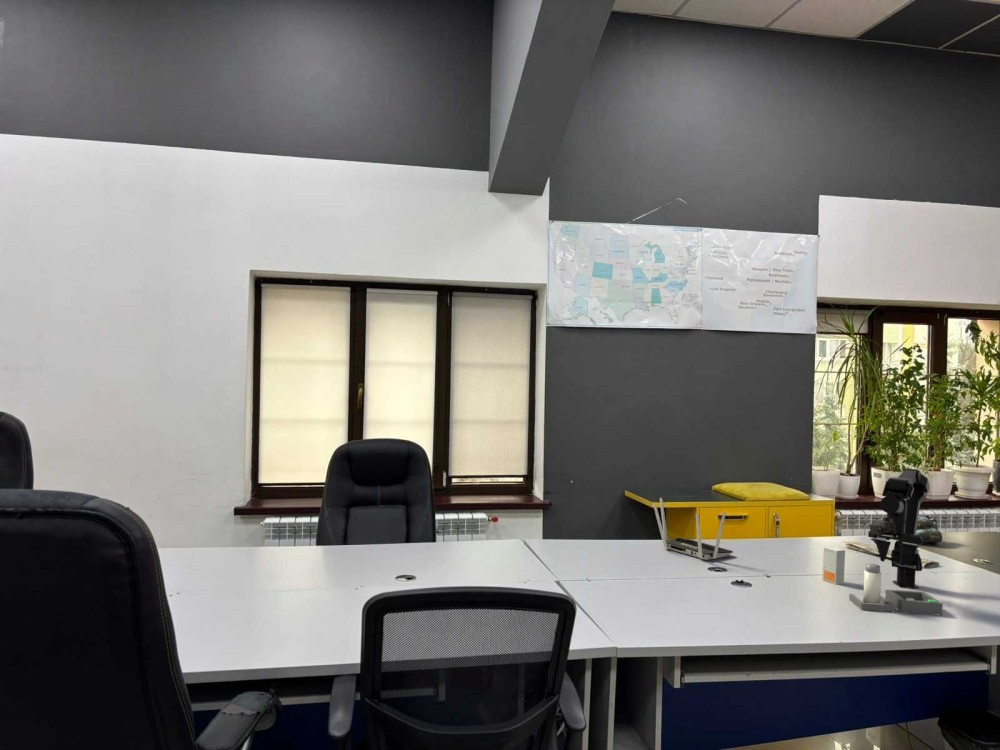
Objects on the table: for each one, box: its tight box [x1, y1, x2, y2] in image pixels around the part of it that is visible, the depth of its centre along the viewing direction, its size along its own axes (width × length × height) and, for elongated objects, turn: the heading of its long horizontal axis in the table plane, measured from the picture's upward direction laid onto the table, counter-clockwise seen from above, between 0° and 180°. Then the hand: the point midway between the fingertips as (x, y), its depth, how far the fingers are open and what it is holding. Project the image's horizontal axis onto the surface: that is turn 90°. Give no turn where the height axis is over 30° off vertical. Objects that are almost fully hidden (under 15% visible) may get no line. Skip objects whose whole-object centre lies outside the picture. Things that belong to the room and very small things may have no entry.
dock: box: [884, 589, 943, 616], centre depth 231 cm, size 12×12×4 cm
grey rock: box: [916, 515, 943, 544], centre depth 326 cm, size 15×12×14 cm
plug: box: [862, 563, 882, 604], centre depth 231 cm, size 5×5×13 cm
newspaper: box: [842, 540, 940, 569], centre depth 297 cm, size 35×12×4 cm, turn 29°
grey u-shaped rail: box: [848, 593, 896, 612], centre depth 231 cm, size 10×10×2 cm
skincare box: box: [822, 545, 846, 585], centre depth 257 cm, size 6×4×12 cm
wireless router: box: [652, 497, 734, 561], centre depth 292 cm, size 34×23×20 cm
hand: (892, 563), depth 240 cm, fingers open, 9 cm apart
